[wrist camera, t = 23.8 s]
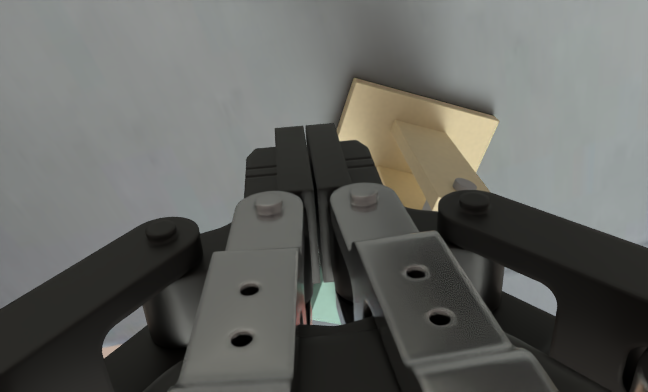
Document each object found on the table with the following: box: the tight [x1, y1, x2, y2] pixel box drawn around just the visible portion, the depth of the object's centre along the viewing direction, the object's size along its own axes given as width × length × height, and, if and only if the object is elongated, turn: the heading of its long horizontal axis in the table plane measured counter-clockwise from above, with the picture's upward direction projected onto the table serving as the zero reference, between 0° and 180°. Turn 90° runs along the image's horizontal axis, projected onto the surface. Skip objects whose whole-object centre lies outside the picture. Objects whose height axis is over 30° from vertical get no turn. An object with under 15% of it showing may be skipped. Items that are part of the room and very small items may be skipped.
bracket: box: [336, 78, 499, 211], centre depth 41 cm, size 12×9×14 cm
